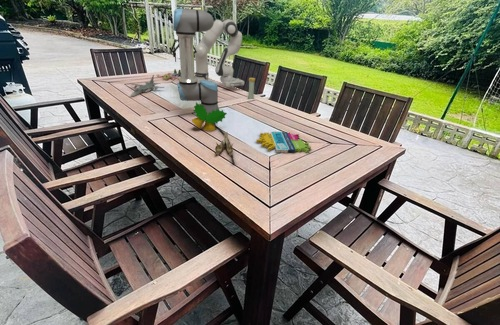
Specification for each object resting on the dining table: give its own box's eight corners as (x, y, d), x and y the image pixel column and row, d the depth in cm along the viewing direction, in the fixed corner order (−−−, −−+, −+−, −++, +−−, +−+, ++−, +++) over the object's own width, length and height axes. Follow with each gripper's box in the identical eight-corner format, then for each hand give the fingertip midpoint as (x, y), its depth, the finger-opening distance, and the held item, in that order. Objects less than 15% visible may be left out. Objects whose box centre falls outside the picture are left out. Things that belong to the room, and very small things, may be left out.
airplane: (124, 86, 238) (122, 75, 233) (160, 84, 251) (158, 74, 246) (129, 99, 209) (126, 86, 204) (168, 96, 223) (167, 84, 217)
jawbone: (234, 135, 144) (233, 125, 135) (233, 160, 138) (232, 151, 129) (217, 135, 144) (216, 125, 135) (216, 160, 138) (214, 150, 129)
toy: (189, 70, 290) (176, 74, 264) (189, 77, 293) (177, 81, 267) (166, 67, 295) (151, 71, 269) (167, 74, 298) (152, 78, 272)
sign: (313, 150, 142) (258, 149, 139) (312, 153, 143) (258, 152, 140) (301, 132, 164) (254, 130, 161) (301, 134, 165) (254, 133, 162)
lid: (256, 81, 225) (256, 78, 224) (252, 81, 221) (252, 79, 220) (251, 79, 228) (251, 77, 227) (247, 80, 224) (247, 78, 223)
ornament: (218, 133, 171) (224, 110, 169) (221, 134, 163) (227, 111, 161) (186, 125, 162) (192, 101, 160) (189, 126, 155) (195, 101, 153)
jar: (254, 98, 233) (255, 79, 224) (251, 99, 229) (252, 79, 221) (250, 97, 235) (251, 78, 227) (247, 98, 232) (248, 78, 224)
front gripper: (198, 33, 207) (199, 61, 218) (165, 31, 201) (168, 60, 211) (199, 33, 201) (200, 62, 211) (165, 32, 194) (168, 62, 205)
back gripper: (221, 79, 246) (229, 82, 237) (239, 78, 257) (247, 81, 247) (221, 86, 249) (229, 89, 240) (239, 84, 260) (247, 87, 250)
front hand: (184, 61), depth 211 cm, fingers open, 13 cm apart
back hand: (238, 85), depth 244 cm, fingers open, 8 cm apart
